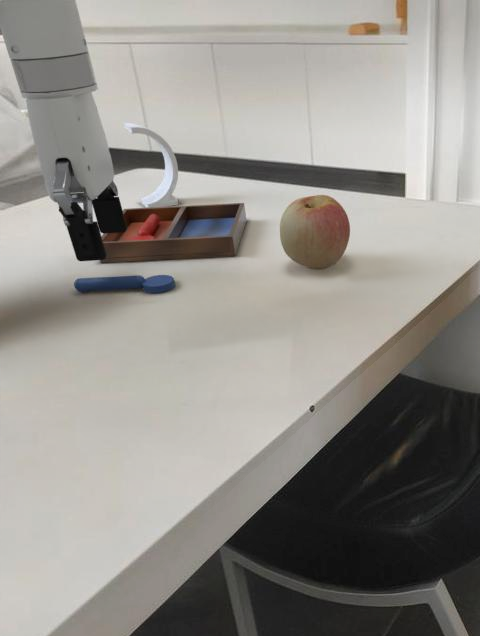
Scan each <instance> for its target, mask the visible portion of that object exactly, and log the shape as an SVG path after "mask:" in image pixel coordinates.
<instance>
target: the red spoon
mask: <svg viewBox="0 0 480 636" xmlns="http://www.w3.org/2000/svg"><path fill="white" fill-rule="evenodd" d="M159 222H160V219H159V217H158V216H157V215H156V214H151V215H150V216H149V217H148V219H147V220H146V222H145V223H144V224H143V226H142V227H141V229H140V230H139V232H138V236H134V237H131V238H129V239H127V240H126V241H130V240H150V239H155V238H154V237H153V236H151V235H152V233H153V232H154V230H155V229H156V227H157V226H158V224H159Z"/></svg>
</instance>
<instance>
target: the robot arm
mask: <svg viewBox="0 0 480 636" xmlns="http://www.w3.org/2000/svg"><path fill="white" fill-rule="evenodd" d="M0 32H1V35H2V38H3V41H4V45H5V47H6V50H7V54H8V57H9V59H10V63H11V66H12V69H13V73H14V75H15V79H16V82H17V86H18V88H19V92H20V96H21V98H23V99H25V103H26V109H27V115H28V120H29V126H30V130H31V131H30V132H31V134H32V139H33V144H34V147H35V151H36V154H37V155H36V156H37V158H38V162H39V165H40V170H41V173H42V177H43V180H44V184H45V188H46V191H47V194H48V196H49V199H50V200H51V201H52V202H54V203H57V205H58V212H59V213H60V214H61V215H62V220H63V224H64V226H65V227H66V230H67V232H68V235H69V238H70V243H71V245H72V249H73V252H74V255H75V258H76V260H77V261H78V262H91V261H93V262H94V261H100V260H104V259H105V258H106V256H107V255H106V251H105V248H104V244H103V241H102V237H101V236H102V235H103V234H105V233H119V232H125V231H126V230H127V226H126V222H125V218H124V214H123V207H122V203H121V199H120V197H119V190H118V187H117V185H116V183H115V181H114V179H115V169H114V165H113V159H112V155H111V152H110V148H109V147H110V146H109V144H108V140H107V136H106V134H105V130H104V126H103V124H102V120H101V117H100V114H99V110H98V107H97V104H96V101H95V98H94V95H93V93H94V92H97V90H99V87H98V84H97V80H96V75H95V72H94V67H93V65H92V60H91V55H90V52H89V48H88V44H87V40H86V35H85V34H84V33H85V32H84V29H83V24H82V21H81V17H80V13H79V9H78V5H77V1H76V0H0ZM80 204H82V207H83V208H82V207H81V206H80ZM93 211H94V212H93ZM94 215H95V218H96V221H94Z"/></svg>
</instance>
